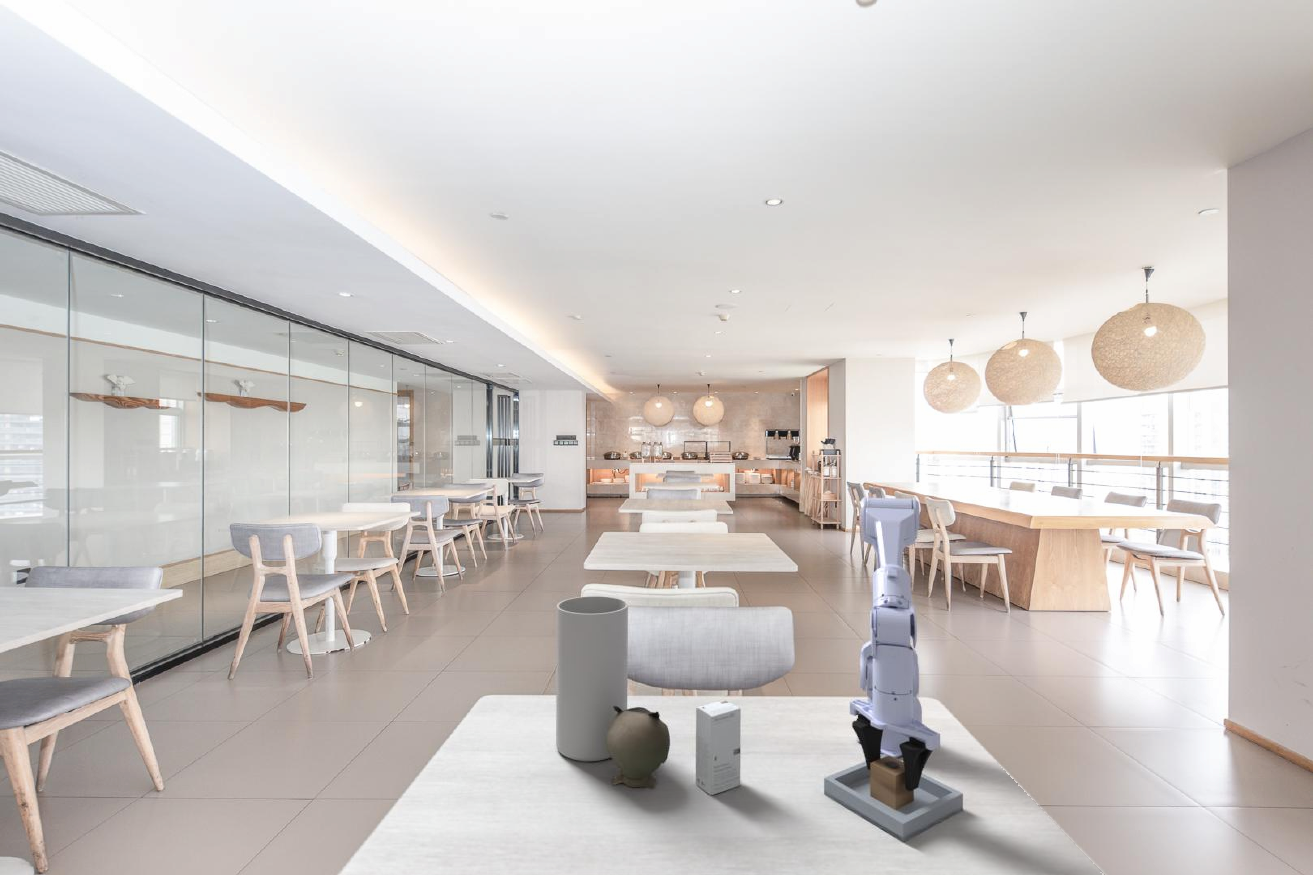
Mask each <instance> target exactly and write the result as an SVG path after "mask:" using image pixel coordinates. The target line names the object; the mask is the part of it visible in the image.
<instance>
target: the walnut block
mask: <svg viewBox="0 0 1313 875" xmlns="http://www.w3.org/2000/svg"><path fill="white" fill-rule="evenodd" d="M870 796H871V797H873V798H874V799H876V800H878V801H880V802H882V803H883V804H885V805H887V806H889V807H891V808H892V809H894V810H897V809H899V808H901V807H903V806H905V805H907V804H909V803H911V802H913V801H914V790H912V791H908V790H906V788H905V770H904V762H903V760H899V759H897V758H893V757H891V756H889V755H888V756H886V757H883V758H881V759H879V760H876V761H874V762H872V763H870Z"/></svg>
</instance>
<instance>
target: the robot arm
mask: <svg viewBox="0 0 1313 875" xmlns="http://www.w3.org/2000/svg"><path fill="white" fill-rule="evenodd" d="M860 501H861V502H860V528H861V537H862V538H863V542H865V543H867V544H869V545H871V546H872V547H873V549H874V552H875V556H876V570H874V572H873V575H872V609H870V612H869V614H870V615H869V620H870V621H869V624H870V625H869V638H870V639H869V640H868V641H867V642H865V643H864V644H862V647H861V651H860V660H859V662H860V663H859V664H860V666H859V668H860V670H859V676H860V677H859V686H860V689H862V691H863V692H864V691H865V692H866V697H867V701H864V700H861V699H859V698H857V699H855V700H852V701H849V714H850V715H852V716H857V718H856V720H854V721H852V723H851V727H852V729H853V730H854V732H855V735H856V742H858V743H860V746H861V749H862V752H863V756H864V761H866V765H867V769H868V770H870V763H872V762H874V761H876V760H879V759H881V755H882V754H884V755H886V756H888V755H889V756H891V757H893V758H895V759H897V758H899V757H902V762H904V770H905V788H906V790H908V791H912V790H915V789H917V788H918V786H919V782H920V778H921V774H923V771H924V768H925V766H926V764H927V761H928V759H929V758H930V757H931V754H932V753H933V752H934V751H935V750H936V749H937V750H938V749H939V748H941V733H939V732H937V731H934V730H932V729H931V728H929V727H928V726H927V725H925V724H924V723H923V709H922V708H923V706H922V704H921V702H920V699H919V698H918V695H919V691H920V672H919V671H920V668H919V663H918V662H919V661H918V660H919V658H918V654H917V652H916V650H915V649H916V646H917V641H918V620H917V614H916V612H915V605H914V603H913V601H912V600H913V599H912V580H911V579H912V578H911V575H910V574H909V572H908V571H907V570H905V569H904V568H903V562H904V561H903V560H904V550H905V548H906V547H910V546H913V545H915V543H916V540H917V538H918V532H919V529H920V502H919V501H918V500H917V498H915V497H913V498H895V497H894V498H893V497H890V498H889V497H888V498H887V497H868V496H863V498H862V499H861V500H860ZM911 639H912V645H911Z"/></svg>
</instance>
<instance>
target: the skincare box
mask: <svg viewBox="0 0 1313 875" xmlns="http://www.w3.org/2000/svg"><path fill="white" fill-rule="evenodd" d="M695 709H696V710H695V711H696V712H695V715H696V716H695V718H696V719H695V732H696V733H695V784H696V785H697V787H699V788H700V789H702V790H703V791H704V792H705V793H707V794H708V795H710V796H713V795H716V794H719V793H722V792H725V791H728V790H731V789H734V788H736V787H739V786H740V785H741V724H742V722H741V718H742V717H741V707H738V706H737V705H735V704H733V703H731V702H729V701H727V700H725V699H724V700H721V701H717V702H716V701H715V702H710V703H707V704H705V705H700V706H697V707H696V708H695Z"/></svg>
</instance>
